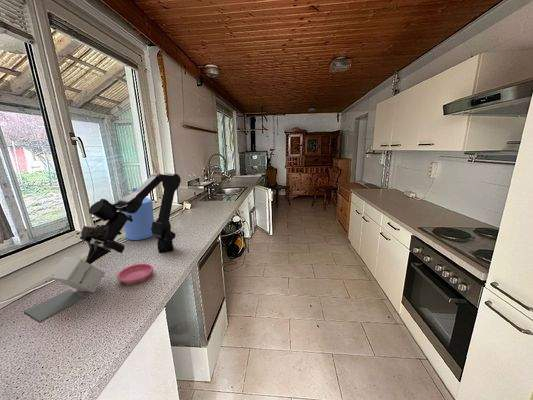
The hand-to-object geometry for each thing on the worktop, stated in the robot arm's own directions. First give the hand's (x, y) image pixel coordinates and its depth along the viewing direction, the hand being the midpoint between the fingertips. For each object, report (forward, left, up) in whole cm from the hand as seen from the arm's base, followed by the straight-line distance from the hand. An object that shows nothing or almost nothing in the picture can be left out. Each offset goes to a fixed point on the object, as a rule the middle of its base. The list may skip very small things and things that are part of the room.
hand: (87, 264), depth 81 cm
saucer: (-15, -1, -10) cm, 18 cm away
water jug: (-9, -49, -10) cm, 51 cm away
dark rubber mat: (+7, +7, -9) cm, 14 cm away
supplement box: (-1, 0, -7) cm, 7 cm away
